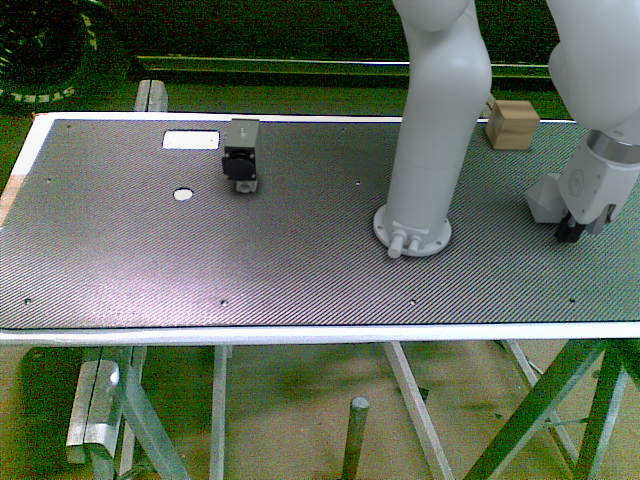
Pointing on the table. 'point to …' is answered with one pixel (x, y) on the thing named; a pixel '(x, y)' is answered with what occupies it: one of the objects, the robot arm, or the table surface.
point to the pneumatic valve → (242, 153)
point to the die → (546, 200)
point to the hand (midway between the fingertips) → (564, 239)
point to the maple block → (512, 124)
